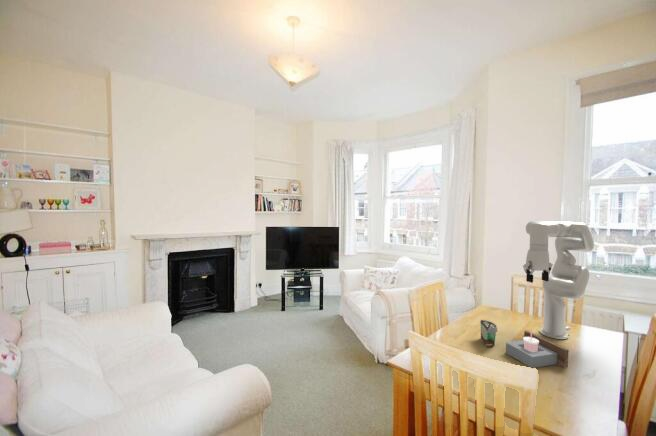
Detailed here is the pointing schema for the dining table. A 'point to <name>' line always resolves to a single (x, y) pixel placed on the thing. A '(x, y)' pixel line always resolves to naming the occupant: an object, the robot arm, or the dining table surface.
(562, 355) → the walnut wall
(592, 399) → the dining table surface
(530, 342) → the beverage cup
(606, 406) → the dining table surface
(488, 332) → the food container
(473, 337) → the dining table surface
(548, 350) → the socket block
